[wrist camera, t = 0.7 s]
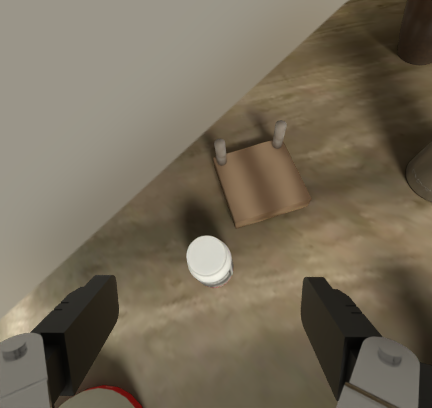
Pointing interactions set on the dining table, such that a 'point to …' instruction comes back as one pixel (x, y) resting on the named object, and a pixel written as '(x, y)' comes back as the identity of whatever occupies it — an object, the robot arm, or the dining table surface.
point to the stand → (260, 180)
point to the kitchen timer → (102, 398)
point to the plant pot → (416, 33)
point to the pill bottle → (210, 261)
